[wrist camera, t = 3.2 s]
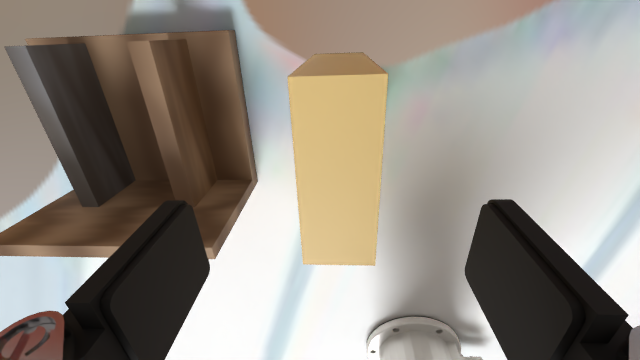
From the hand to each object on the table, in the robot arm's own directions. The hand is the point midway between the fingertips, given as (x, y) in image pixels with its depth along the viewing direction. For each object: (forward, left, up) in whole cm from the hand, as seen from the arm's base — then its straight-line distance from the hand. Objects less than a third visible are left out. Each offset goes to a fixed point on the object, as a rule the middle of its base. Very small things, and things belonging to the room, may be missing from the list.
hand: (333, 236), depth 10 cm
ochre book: (0, +1, -19) cm, 18 cm away
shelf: (+17, +1, -18) cm, 25 cm away
